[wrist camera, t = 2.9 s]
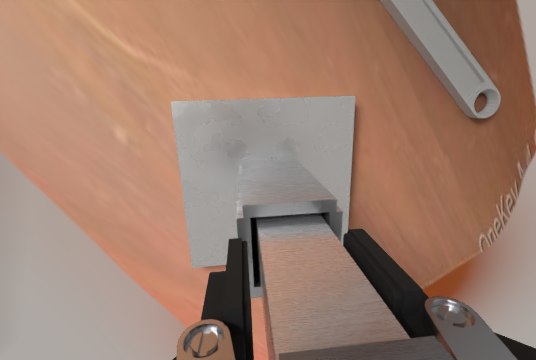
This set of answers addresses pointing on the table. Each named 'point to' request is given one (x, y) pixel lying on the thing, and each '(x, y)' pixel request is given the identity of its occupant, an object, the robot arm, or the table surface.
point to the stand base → (261, 168)
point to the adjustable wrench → (445, 54)
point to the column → (325, 299)
